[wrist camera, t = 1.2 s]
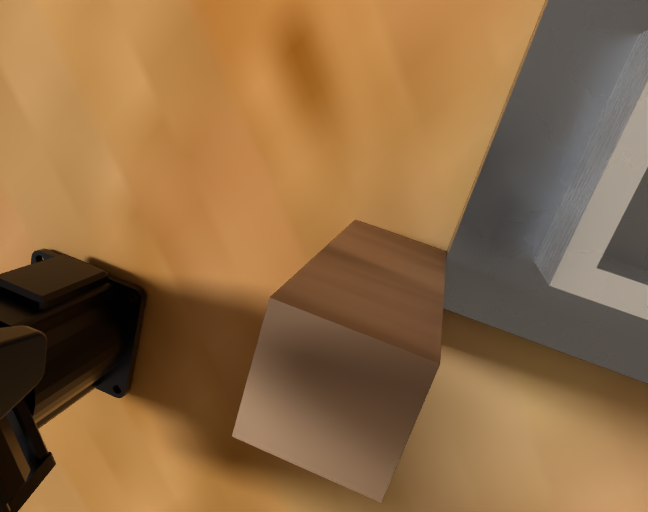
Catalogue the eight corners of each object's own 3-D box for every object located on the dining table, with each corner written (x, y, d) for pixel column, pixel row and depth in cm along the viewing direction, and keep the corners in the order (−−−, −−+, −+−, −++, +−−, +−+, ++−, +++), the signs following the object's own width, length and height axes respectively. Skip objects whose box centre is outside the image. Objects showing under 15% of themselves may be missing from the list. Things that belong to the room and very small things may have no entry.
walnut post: (413, 334, 21) (381, 503, 11) (328, 302, 21) (231, 436, 12) (446, 251, 19) (439, 363, 10) (354, 219, 20) (269, 297, 11)
